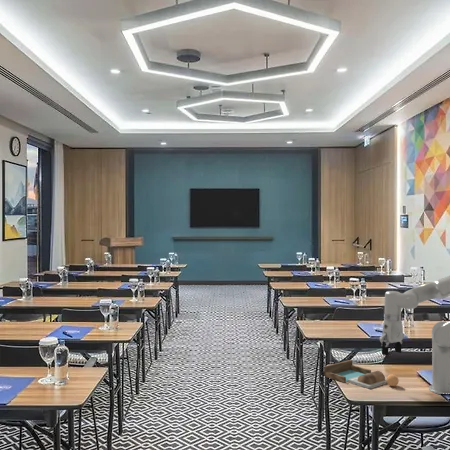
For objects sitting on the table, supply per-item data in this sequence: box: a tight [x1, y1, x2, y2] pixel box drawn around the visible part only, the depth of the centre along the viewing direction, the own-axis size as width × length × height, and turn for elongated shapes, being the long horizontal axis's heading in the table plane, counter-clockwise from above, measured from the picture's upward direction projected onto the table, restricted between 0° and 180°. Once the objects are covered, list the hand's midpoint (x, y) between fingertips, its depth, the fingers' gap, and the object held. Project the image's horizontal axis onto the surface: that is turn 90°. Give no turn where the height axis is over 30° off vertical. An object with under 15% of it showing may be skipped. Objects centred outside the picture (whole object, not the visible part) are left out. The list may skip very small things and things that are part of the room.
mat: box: [337, 370, 364, 383], centre depth 255 cm, size 11×18×1 cm, turn 126°
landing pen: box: [323, 359, 372, 383], centre depth 255 cm, size 13×20×5 cm, turn 126°
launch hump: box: [357, 370, 386, 385], centre depth 243 cm, size 7×12×7 cm, turn 126°
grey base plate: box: [347, 376, 388, 390], centre depth 244 cm, size 13×16×1 cm
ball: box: [385, 373, 400, 387], centre depth 238 cm, size 6×6×6 cm
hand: (391, 353), depth 239 cm, fingers open, 9 cm apart
